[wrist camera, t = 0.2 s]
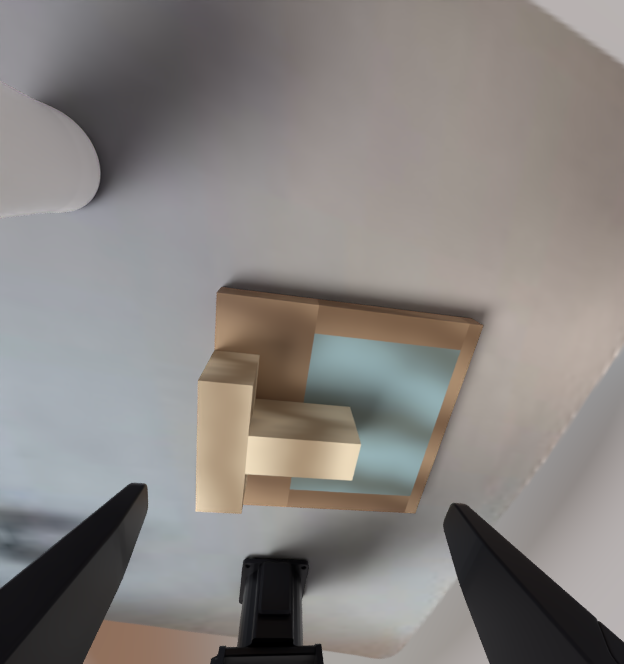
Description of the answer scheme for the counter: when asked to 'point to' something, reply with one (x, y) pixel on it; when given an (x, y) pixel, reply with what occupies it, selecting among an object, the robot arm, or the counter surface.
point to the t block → (262, 435)
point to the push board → (353, 387)
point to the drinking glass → (42, 158)
